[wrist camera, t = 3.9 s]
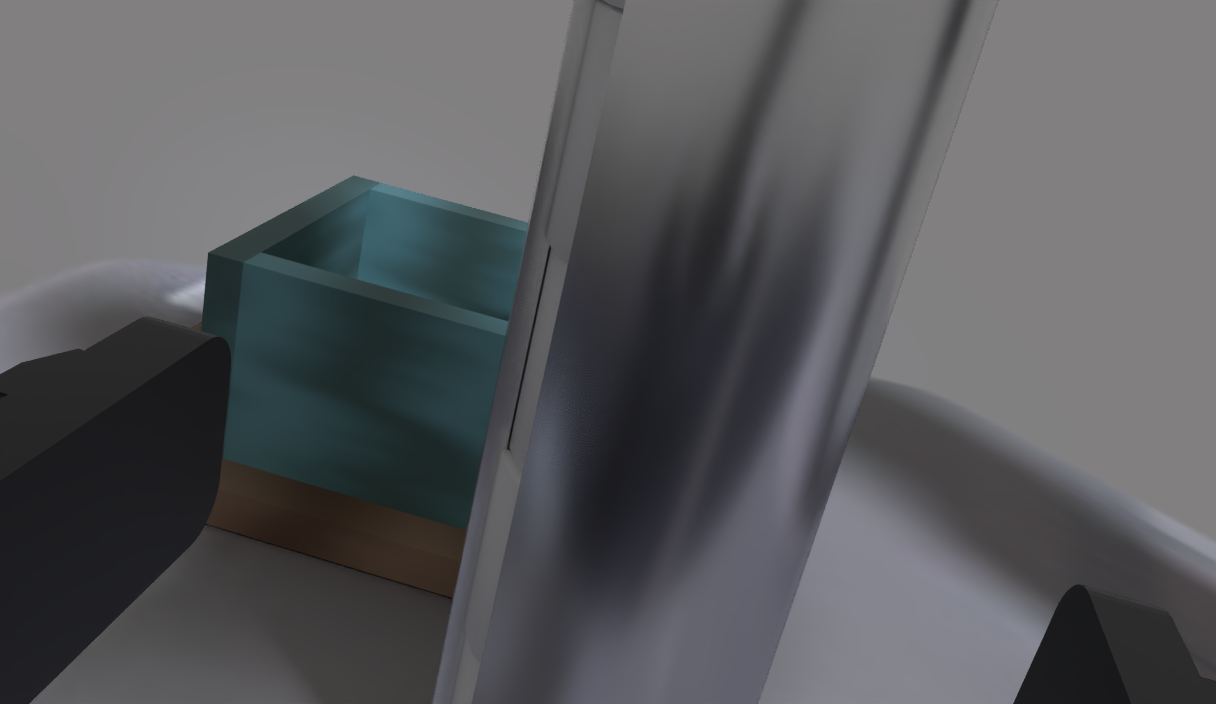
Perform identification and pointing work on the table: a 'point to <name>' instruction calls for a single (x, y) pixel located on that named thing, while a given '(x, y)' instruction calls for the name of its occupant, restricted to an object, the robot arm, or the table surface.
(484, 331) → the cup stand
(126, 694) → the table surface
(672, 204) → the silver metal cylinder
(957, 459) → the table surface
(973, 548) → the table surface
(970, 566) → the table surface
